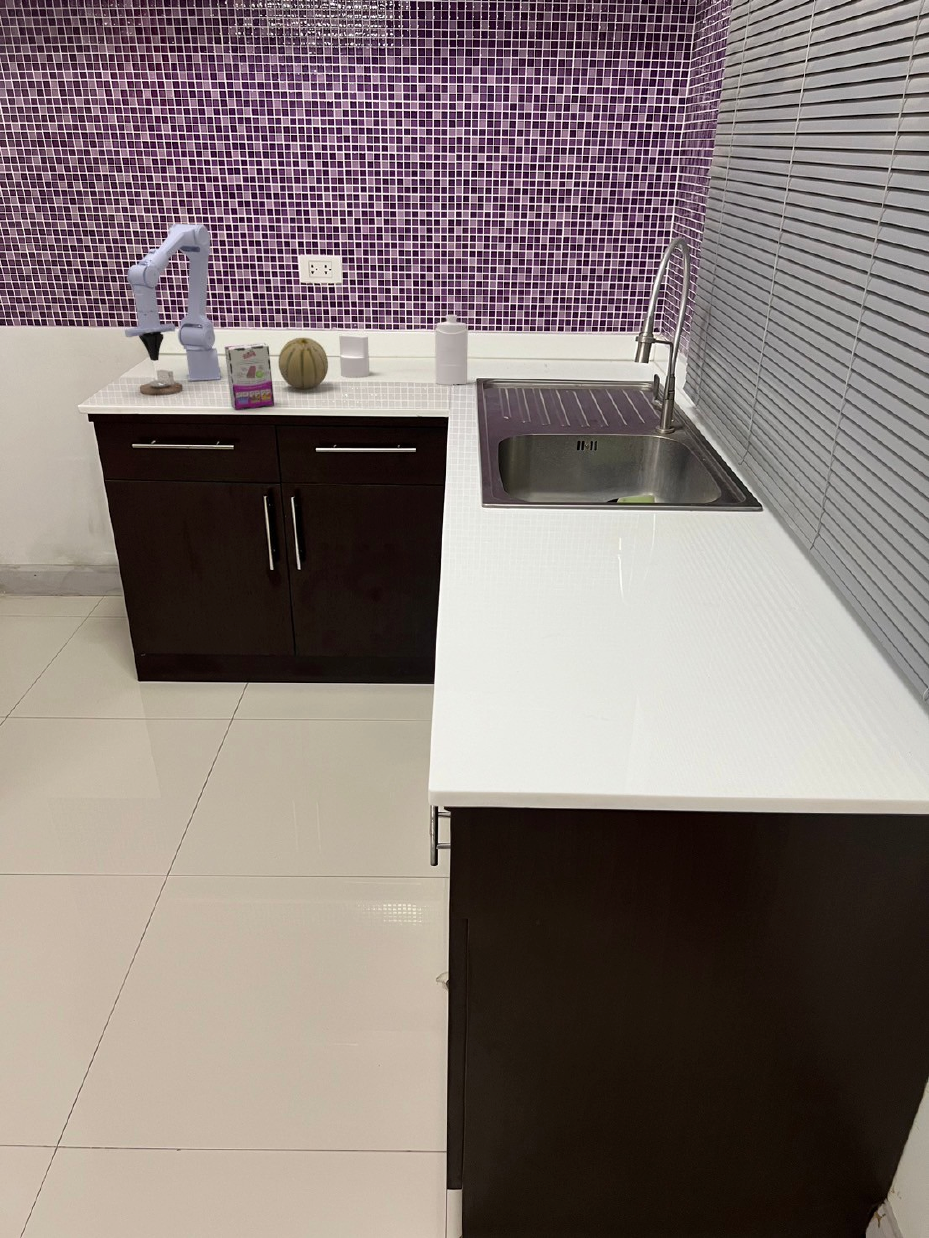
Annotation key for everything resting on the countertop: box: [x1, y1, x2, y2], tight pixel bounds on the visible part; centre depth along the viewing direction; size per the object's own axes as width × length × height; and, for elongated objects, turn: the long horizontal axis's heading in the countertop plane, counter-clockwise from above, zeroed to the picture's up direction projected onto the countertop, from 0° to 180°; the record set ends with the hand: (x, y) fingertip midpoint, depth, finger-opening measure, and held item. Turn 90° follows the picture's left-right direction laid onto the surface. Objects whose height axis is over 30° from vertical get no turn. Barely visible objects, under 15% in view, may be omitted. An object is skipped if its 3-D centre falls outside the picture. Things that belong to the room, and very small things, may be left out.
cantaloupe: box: [278, 337, 329, 390], centre depth 274 cm, size 15×15×15 cm
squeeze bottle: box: [434, 314, 469, 386], centre depth 280 cm, size 10×20×5 cm
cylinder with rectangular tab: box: [339, 333, 371, 379], centre depth 292 cm, size 9×9×12 cm
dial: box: [149, 369, 175, 388], centre depth 271 cm, size 8×6×4 cm
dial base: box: [139, 381, 184, 396], centre depth 273 cm, size 12×12×1 cm
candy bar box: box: [224, 342, 275, 411], centre depth 254 cm, size 11×5×16 cm, turn 118°
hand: (154, 360), depth 267 cm, fingers closed
